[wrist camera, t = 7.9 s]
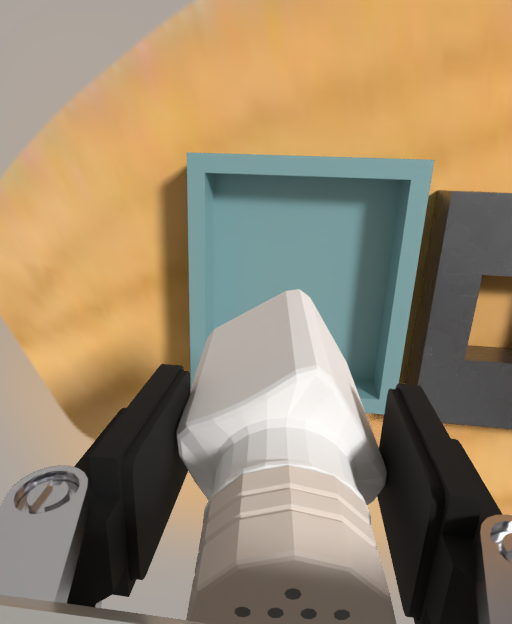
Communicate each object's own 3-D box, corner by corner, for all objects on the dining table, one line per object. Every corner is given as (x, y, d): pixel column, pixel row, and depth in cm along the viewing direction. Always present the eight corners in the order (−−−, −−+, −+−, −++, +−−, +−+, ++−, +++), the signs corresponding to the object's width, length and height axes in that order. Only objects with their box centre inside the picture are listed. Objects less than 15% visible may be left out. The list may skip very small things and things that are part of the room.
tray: (418, 162, 24) (434, 159, 21) (384, 391, 28) (393, 415, 25) (200, 155, 25) (186, 152, 22) (202, 375, 30) (190, 396, 27)
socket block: (621, 197, 23) (657, 198, 21) (556, 413, 27) (579, 435, 25) (437, 190, 24) (452, 191, 22) (402, 399, 28) (411, 419, 26)
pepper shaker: (258, 410, 16) (245, 730, 7) (202, 329, 15) (105, 594, 6) (350, 366, 15) (466, 667, 6) (300, 277, 14) (355, 493, 5)
